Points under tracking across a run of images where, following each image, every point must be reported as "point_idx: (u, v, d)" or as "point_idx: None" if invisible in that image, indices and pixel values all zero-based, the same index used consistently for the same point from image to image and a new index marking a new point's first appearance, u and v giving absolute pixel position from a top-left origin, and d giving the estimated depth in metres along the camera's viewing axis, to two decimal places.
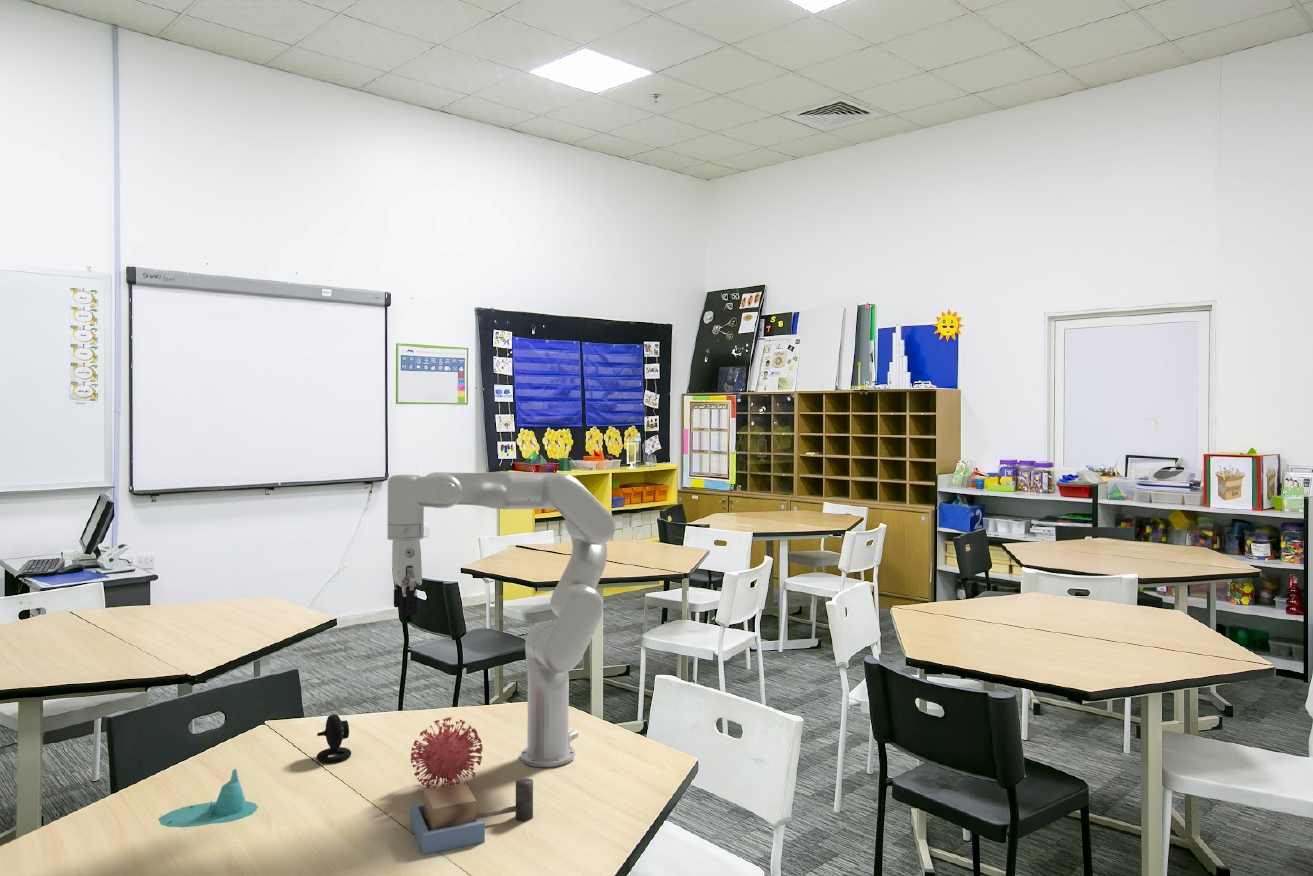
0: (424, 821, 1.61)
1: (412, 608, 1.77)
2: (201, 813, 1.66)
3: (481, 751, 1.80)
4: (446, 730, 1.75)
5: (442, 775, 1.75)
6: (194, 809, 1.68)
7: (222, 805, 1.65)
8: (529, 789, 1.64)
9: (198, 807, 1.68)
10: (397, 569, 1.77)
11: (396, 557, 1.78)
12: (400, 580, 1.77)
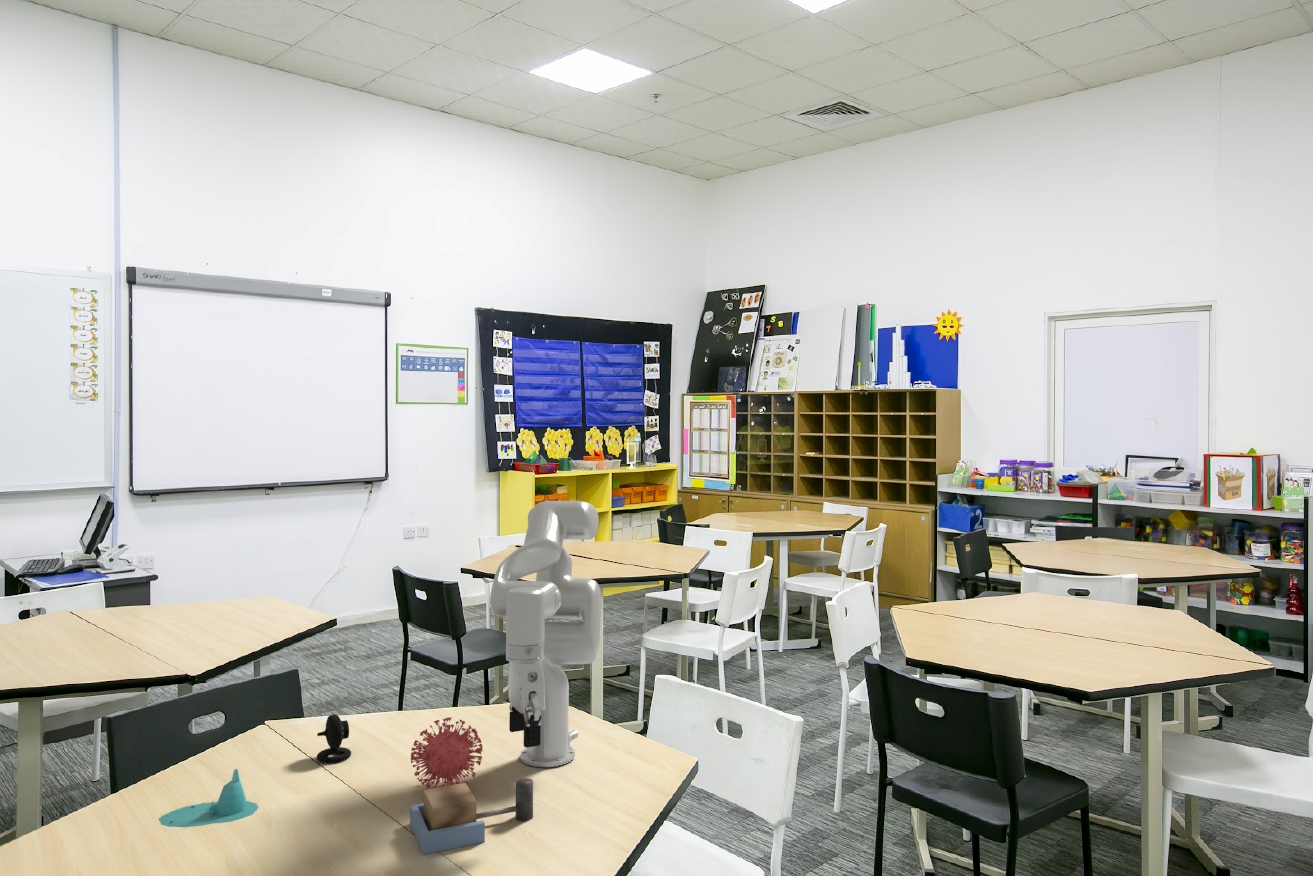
0: (424, 821, 1.61)
1: (536, 739, 1.60)
2: (202, 813, 1.66)
3: (481, 751, 1.80)
4: (446, 730, 1.75)
5: (442, 775, 1.75)
6: (195, 809, 1.68)
7: (223, 805, 1.65)
8: (529, 789, 1.64)
9: (199, 807, 1.69)
10: (519, 695, 1.61)
11: (517, 681, 1.62)
12: (523, 708, 1.60)
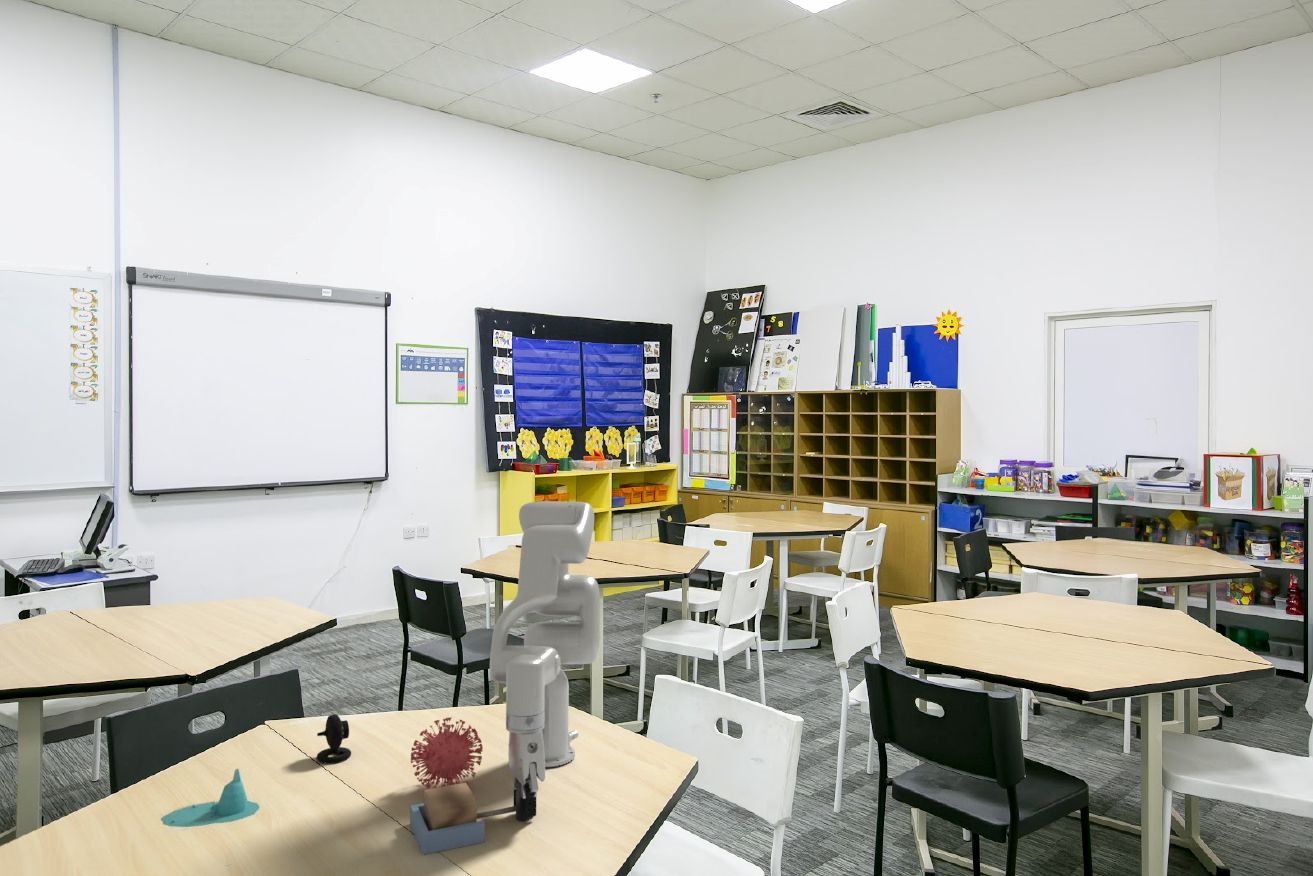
0: (424, 821, 1.61)
1: (531, 810, 1.63)
2: (203, 813, 1.66)
3: (481, 751, 1.80)
4: (446, 730, 1.75)
5: (442, 775, 1.75)
6: (196, 809, 1.68)
7: (224, 805, 1.65)
8: None
9: (200, 807, 1.69)
10: (519, 765, 1.62)
11: (517, 752, 1.62)
12: (523, 779, 1.61)
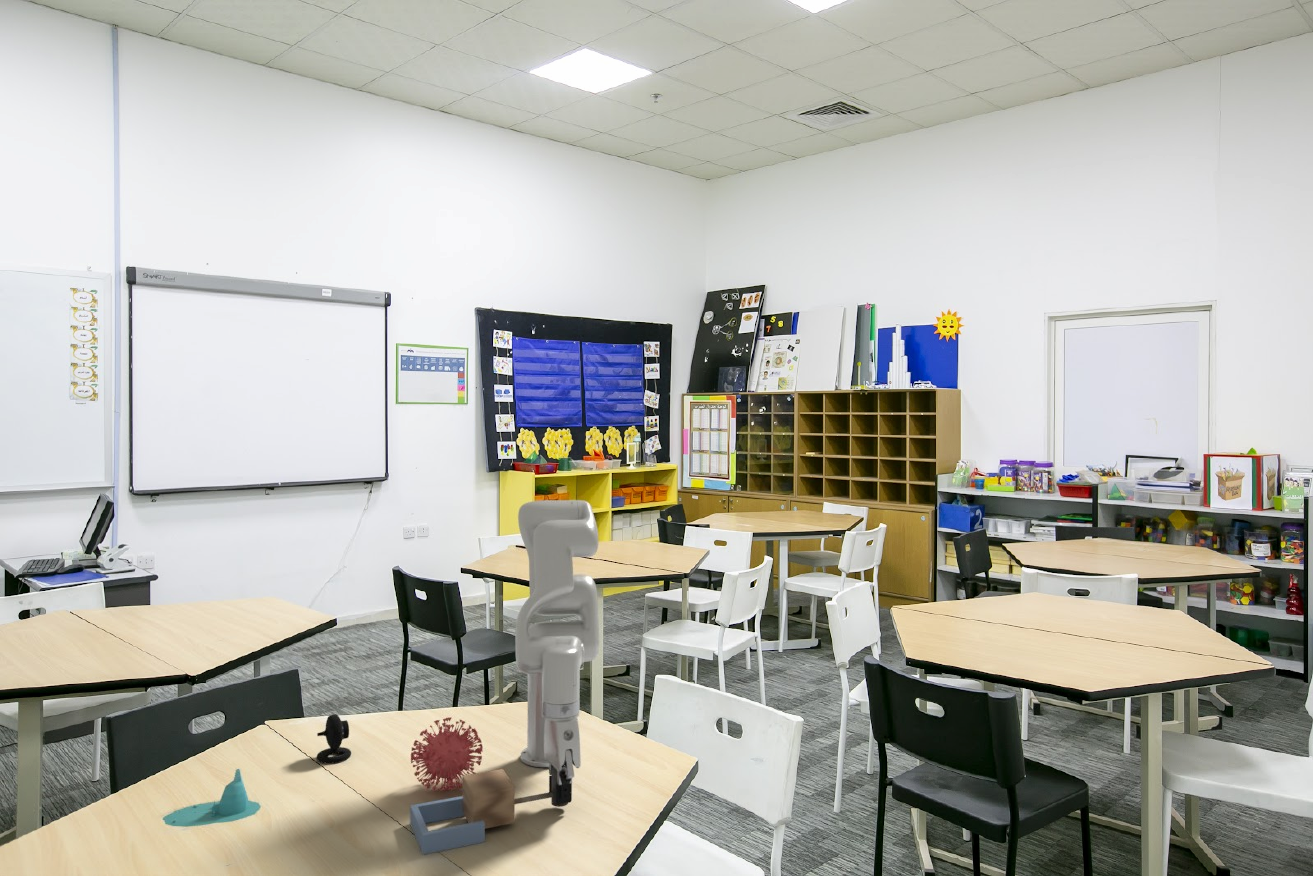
0: (463, 806, 1.65)
1: (567, 796, 1.67)
2: (204, 813, 1.66)
3: (481, 751, 1.80)
4: (446, 730, 1.75)
5: (442, 775, 1.75)
6: (197, 809, 1.68)
7: (225, 805, 1.65)
8: None
9: (201, 807, 1.69)
10: (555, 752, 1.65)
11: (553, 739, 1.66)
12: (559, 765, 1.64)
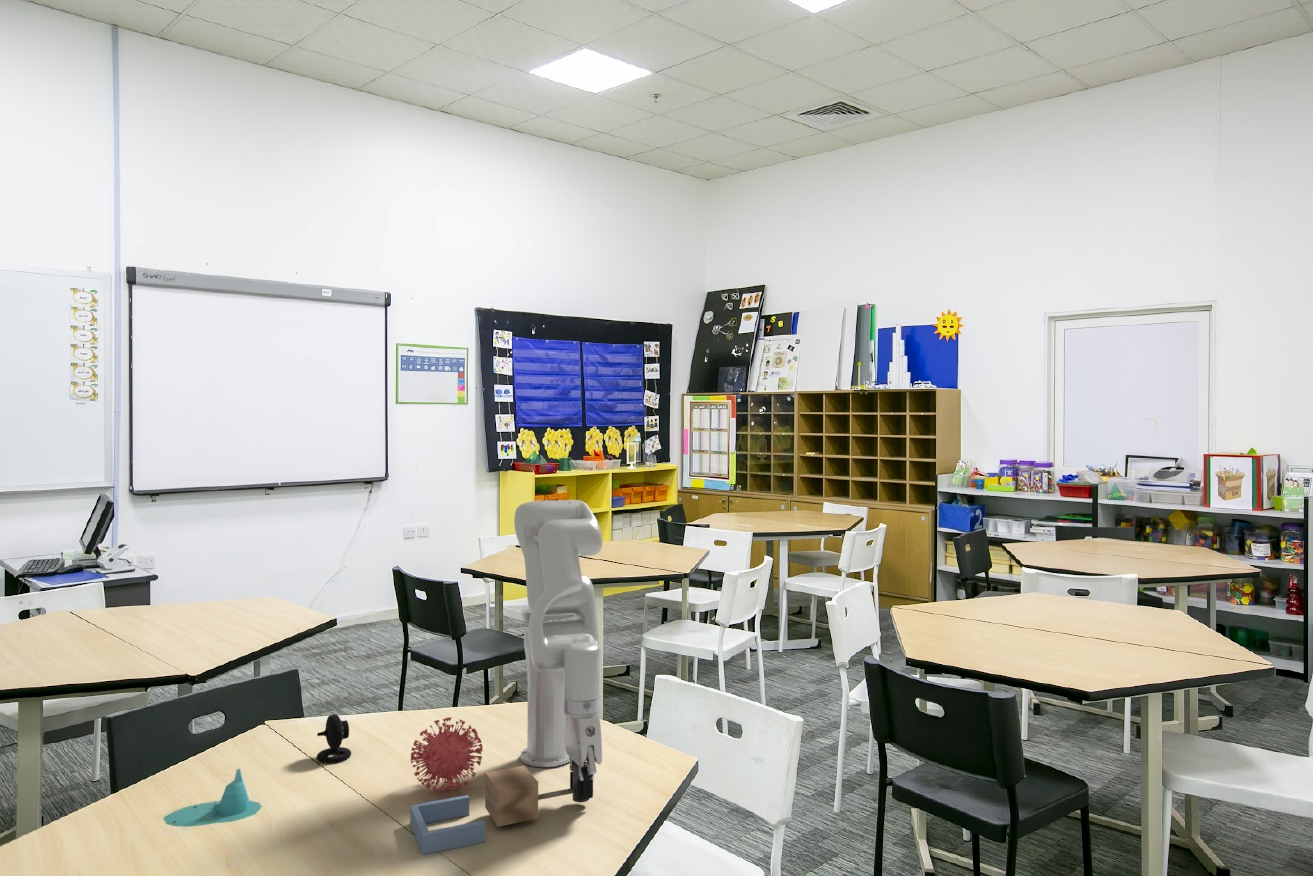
0: (486, 802, 1.66)
1: (589, 792, 1.68)
2: (205, 813, 1.66)
3: (481, 751, 1.80)
4: (446, 730, 1.75)
5: (442, 775, 1.75)
6: (198, 809, 1.68)
7: (226, 804, 1.65)
8: None
9: (202, 807, 1.69)
10: (577, 749, 1.67)
11: (575, 735, 1.67)
12: (581, 761, 1.66)
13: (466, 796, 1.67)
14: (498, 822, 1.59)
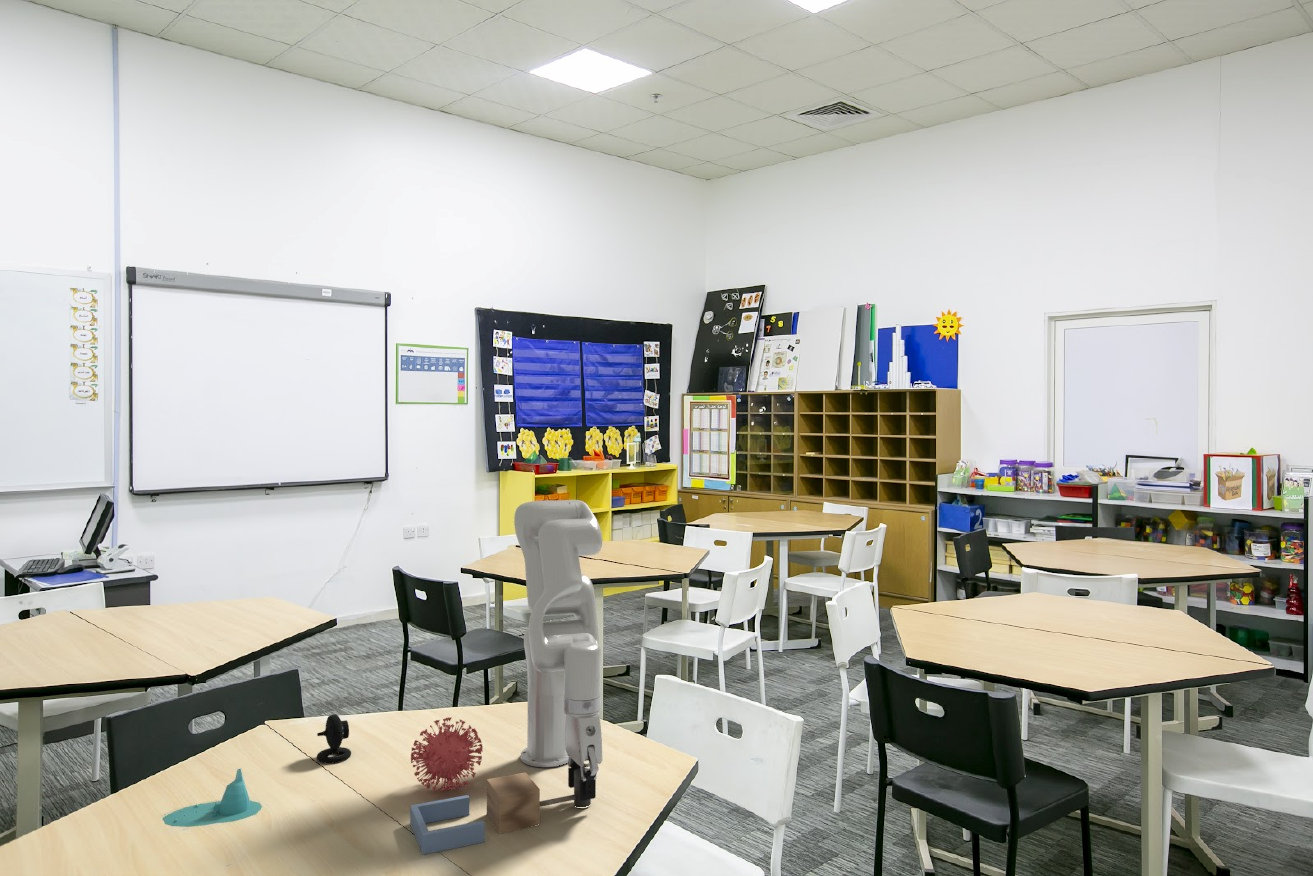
0: (487, 809, 1.66)
1: (591, 792, 1.67)
2: (206, 813, 1.66)
3: (481, 751, 1.80)
4: (446, 730, 1.75)
5: (442, 775, 1.75)
6: (199, 808, 1.68)
7: (227, 804, 1.65)
8: None
9: (202, 807, 1.69)
10: (577, 748, 1.67)
11: (576, 735, 1.67)
12: (581, 761, 1.66)
13: (466, 796, 1.67)
14: (500, 829, 1.59)
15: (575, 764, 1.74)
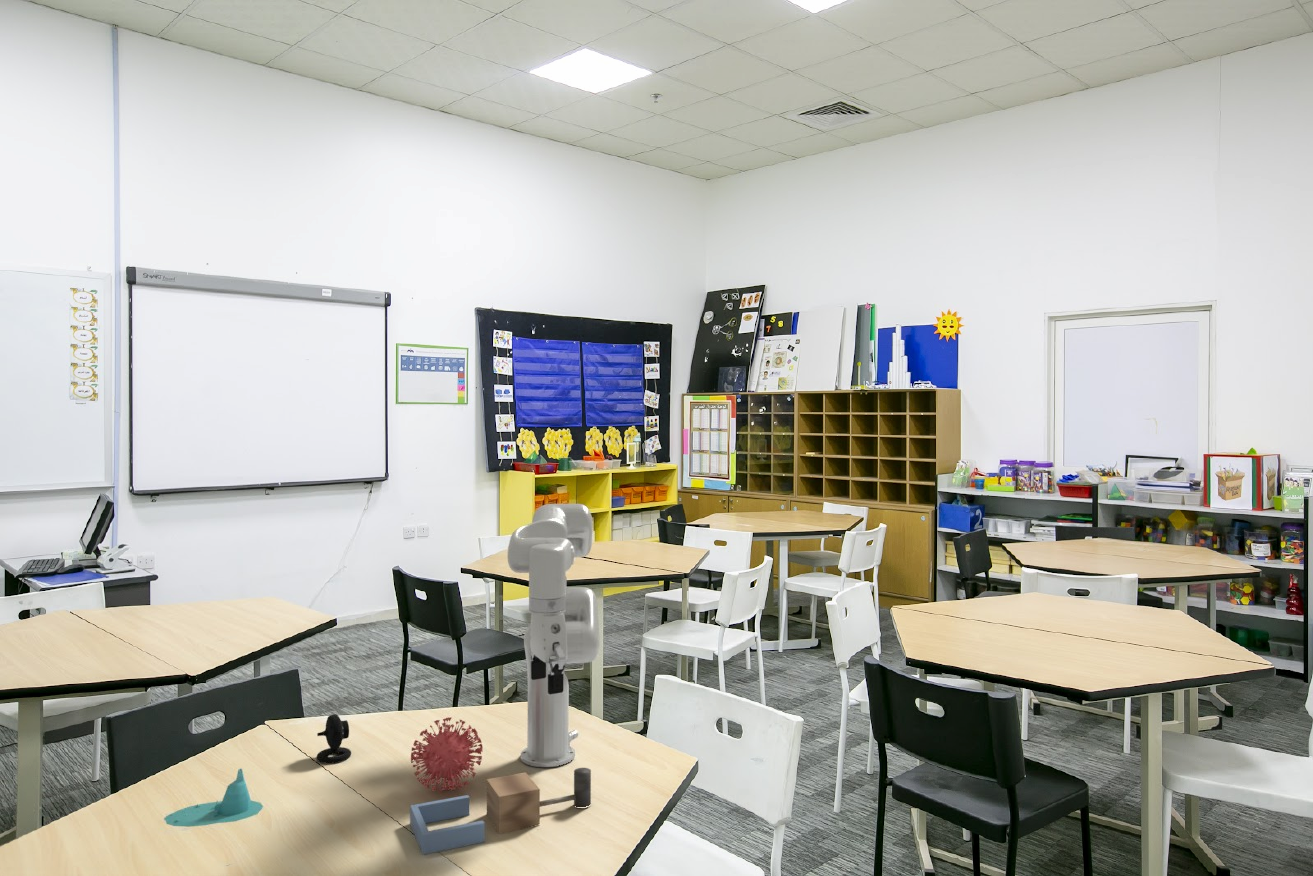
0: (487, 809, 1.66)
1: (559, 686, 1.69)
2: (207, 812, 1.66)
3: (481, 751, 1.80)
4: (446, 730, 1.75)
5: (442, 775, 1.75)
6: (200, 808, 1.68)
7: (228, 804, 1.66)
8: (588, 778, 1.70)
9: (204, 806, 1.69)
10: (542, 645, 1.70)
11: (541, 633, 1.70)
12: (547, 657, 1.69)
13: (466, 796, 1.67)
14: (500, 829, 1.59)
15: (538, 657, 1.78)
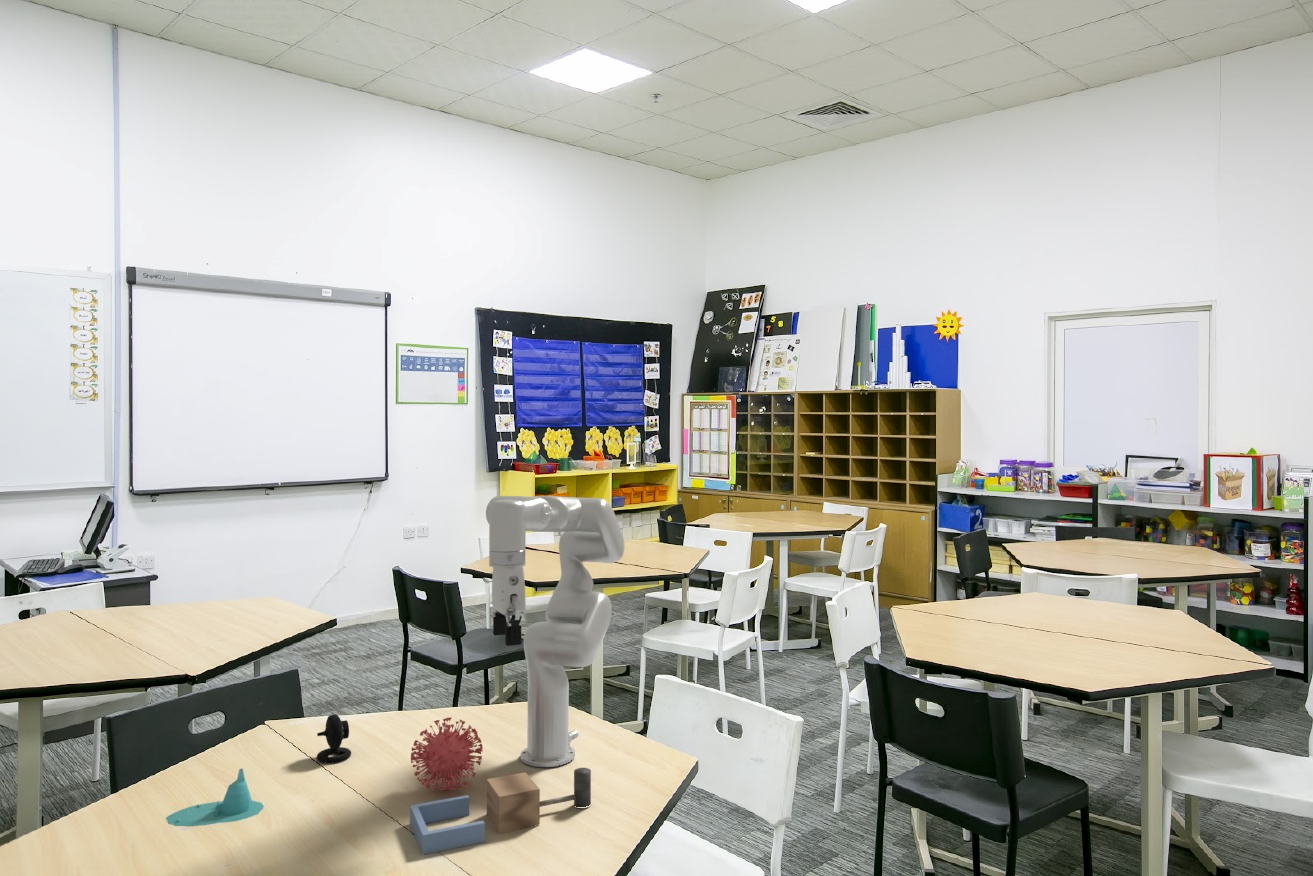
0: (487, 809, 1.66)
1: (517, 638, 1.72)
2: (208, 812, 1.66)
3: (481, 751, 1.80)
4: (446, 730, 1.75)
5: (442, 775, 1.75)
6: (201, 808, 1.68)
7: (229, 804, 1.66)
8: (588, 778, 1.70)
9: (205, 806, 1.69)
10: (501, 597, 1.73)
11: (499, 585, 1.73)
12: (504, 609, 1.72)
13: (466, 796, 1.67)
14: (500, 829, 1.59)
15: (500, 613, 1.81)
